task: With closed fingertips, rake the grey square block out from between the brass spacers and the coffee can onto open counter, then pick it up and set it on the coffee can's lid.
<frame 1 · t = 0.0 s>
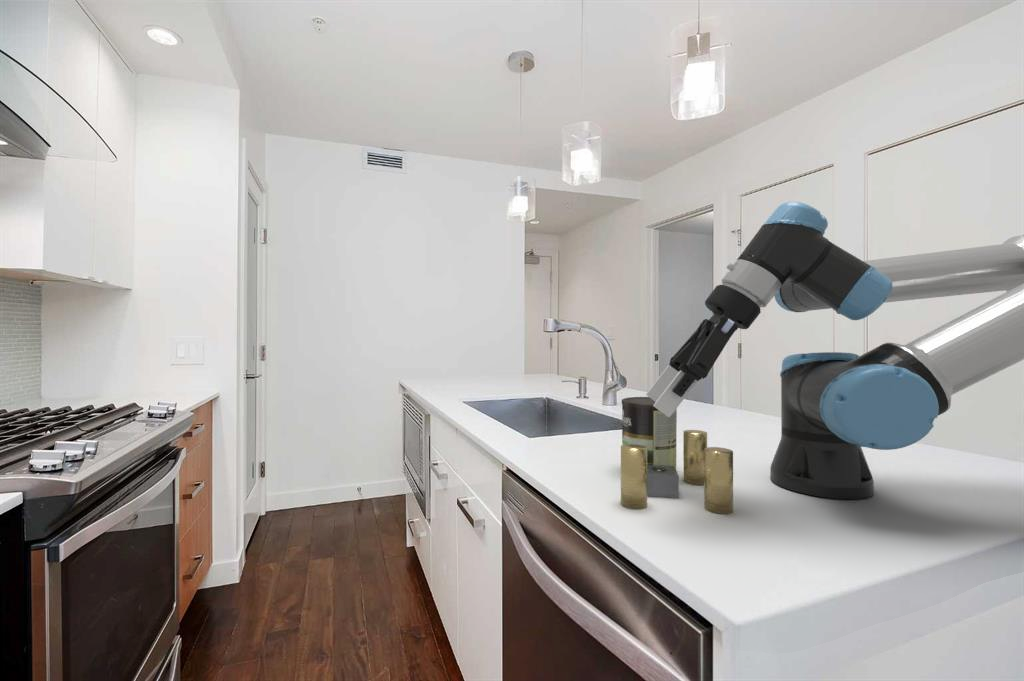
hand: (656, 405, 74), 15 cm above the worktop, tool tilted 35°, fingers open, 13 cm apart
brass spacer C: (718, 509, 71), on the worktop
brass spacer A: (695, 481, 84), on the worktop
brass spacer B: (633, 504, 73), on the worktop
coffee can: (649, 474, 89), on the worktop
grey square block: (659, 492, 79), on the worktop
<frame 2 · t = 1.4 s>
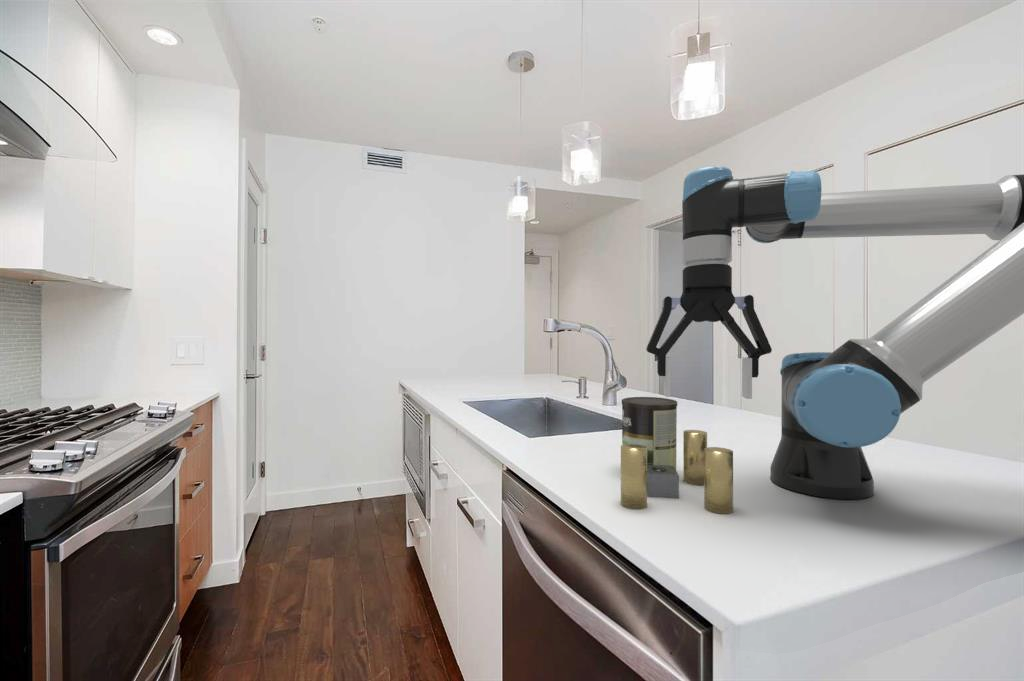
hand: (706, 396, 77), 16 cm above the worktop, tool pointing down, fingers open, 12 cm apart
nothing on the worktop moved.
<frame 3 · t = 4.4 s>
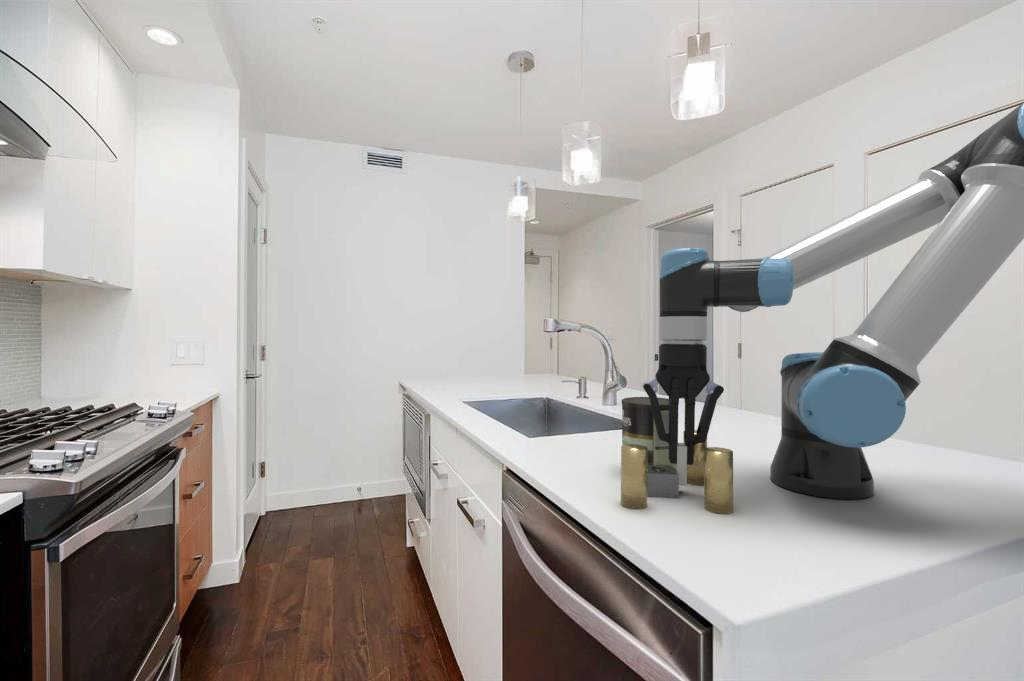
hand: (680, 482, 78), 2 cm above the worktop, tool pointing down, fingers closed
grey square block: (658, 492, 79), on the worktop, touching gripper
everything else where it was.
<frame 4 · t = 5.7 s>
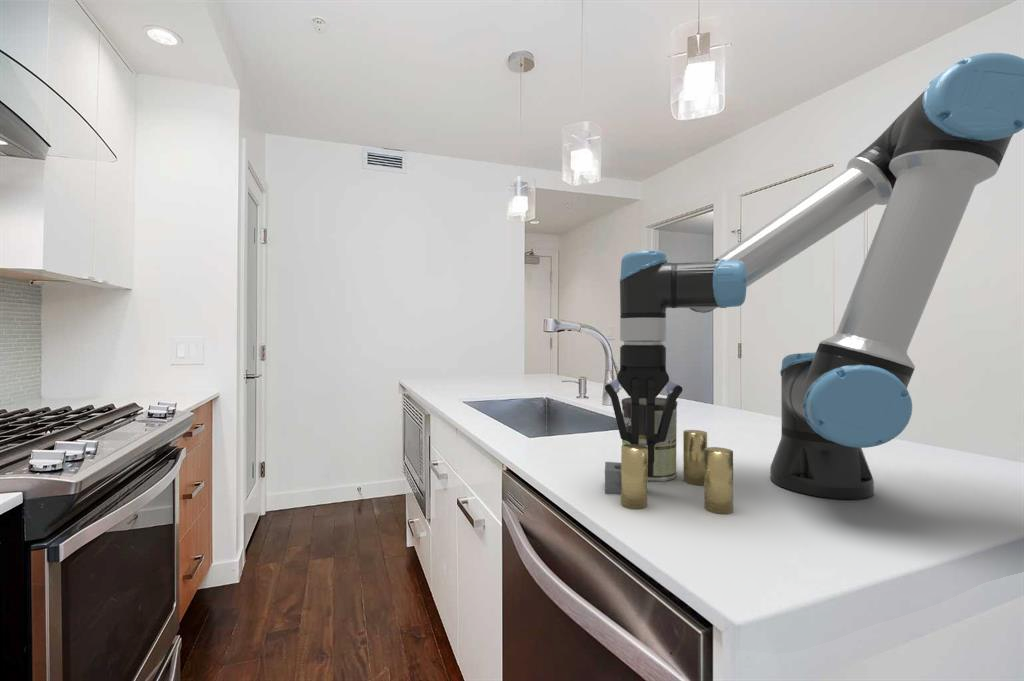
hand: (642, 481, 79), 2 cm above the worktop, tool pointing down, fingers closed
grey square block: (621, 490, 80), on the worktop
everything else where it was.
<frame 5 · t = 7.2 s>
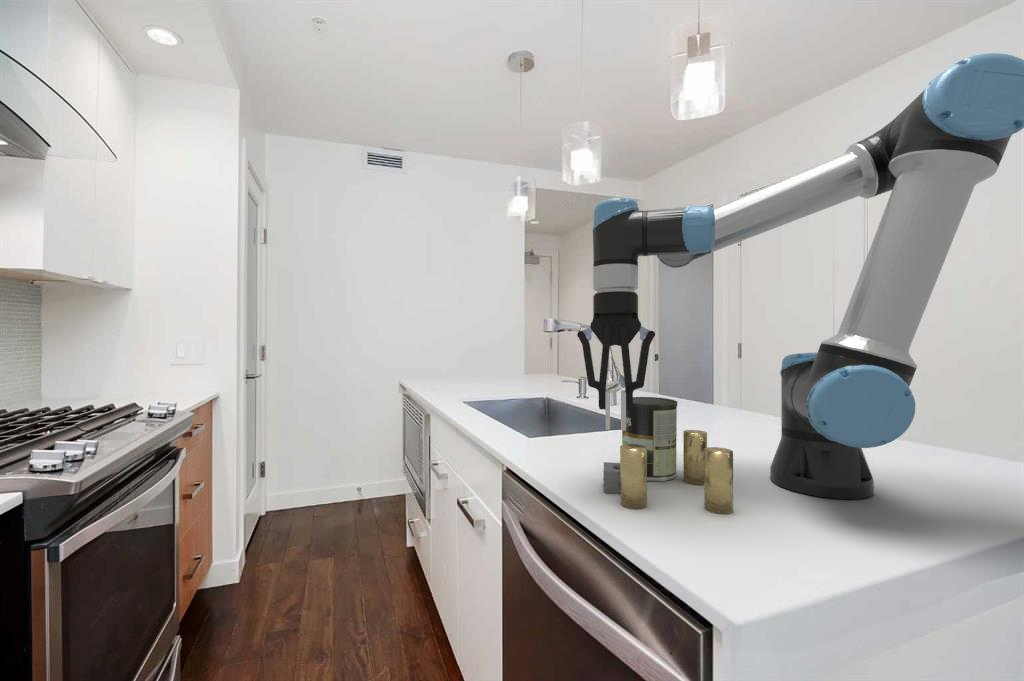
hand: (615, 428, 80), 10 cm above the worktop, tool pointing down, fingers open, 2 cm apart
nothing on the worktop moved.
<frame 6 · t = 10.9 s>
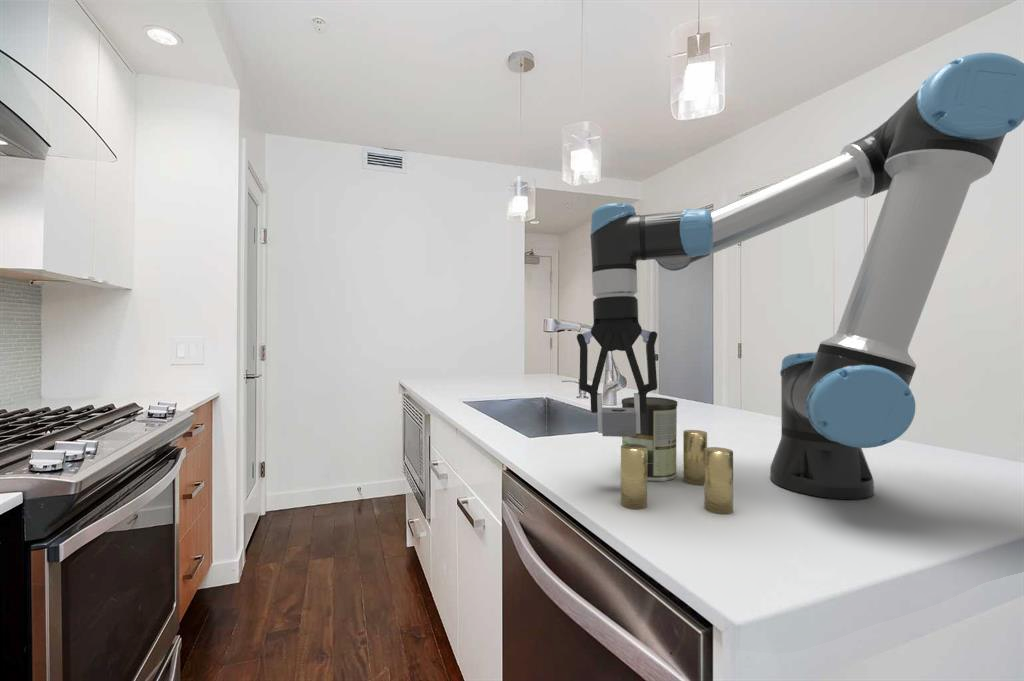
hand: (619, 431, 80), 10 cm above the worktop, tool pointing down, fingers closed on grey square block, 5 cm apart
grey square block: (618, 433, 80), point 10 cm above the worktop, touching gripper
everything else where it was.
when the fingers open (14 cm above the worktop, at t = 13.3 s): grey square block moves 2 cm, resting on coffee can.
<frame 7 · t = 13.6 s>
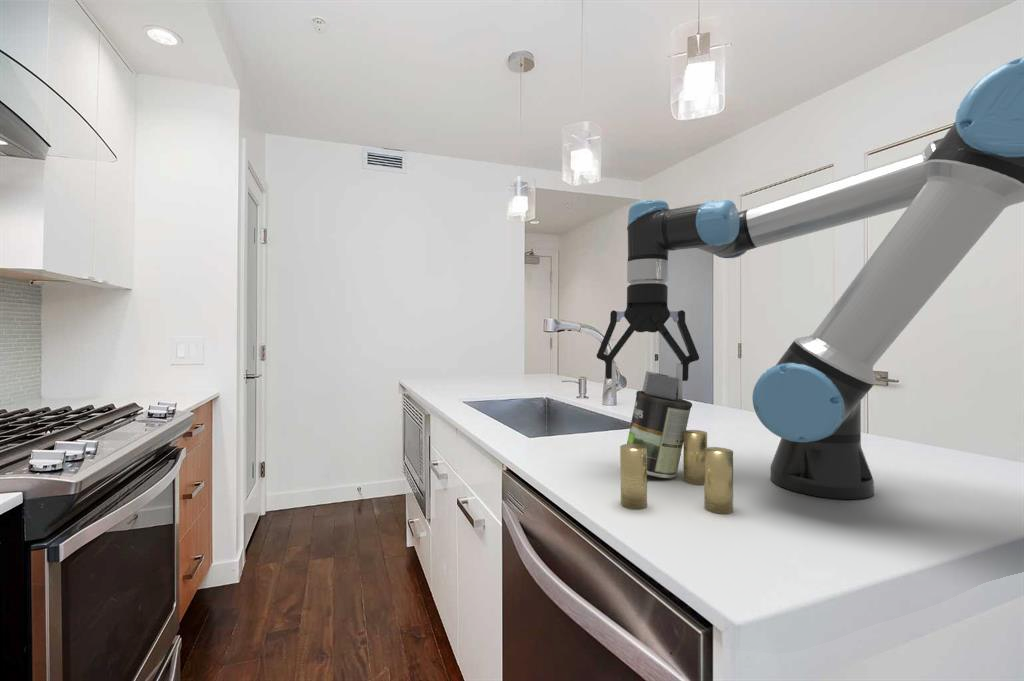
hand: (645, 397, 90), 15 cm above the worktop, tool pointing down, fingers open, 11 cm apart
coffee can: (649, 469, 89), point 1 cm above the worktop, touching gripper, grey square block
grey square block: (658, 395, 89), point 15 cm above the worktop, tilted 11°, touching coffee can, gripper
everything else where it was.
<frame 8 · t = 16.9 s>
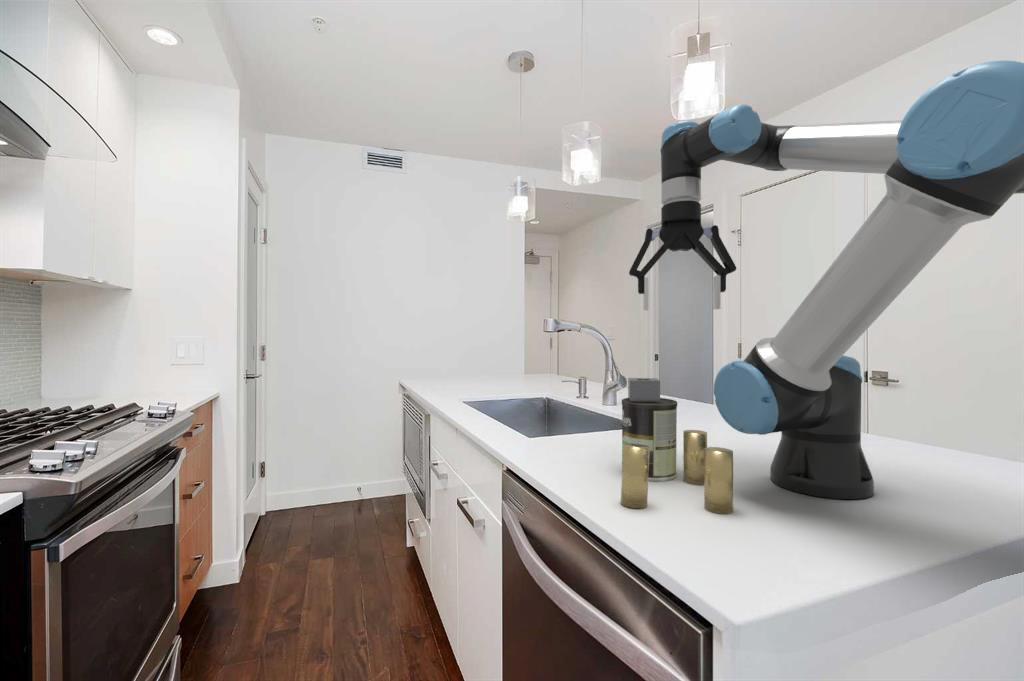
hand: (680, 309, 94), 32 cm above the worktop, tool pointing down, fingers open, 13 cm apart
coffee can: (649, 474, 89), on the worktop, touching grey square block
grey square block: (643, 400, 90), point 14 cm above the worktop, touching coffee can
everything else where it was.
at the end: grey square block inside the target area on the coffee can (1.1 cm from its centre), point 14.3 cm above the coffee can's base; coffee can tilted 0°; the gripper is holding nothing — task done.
